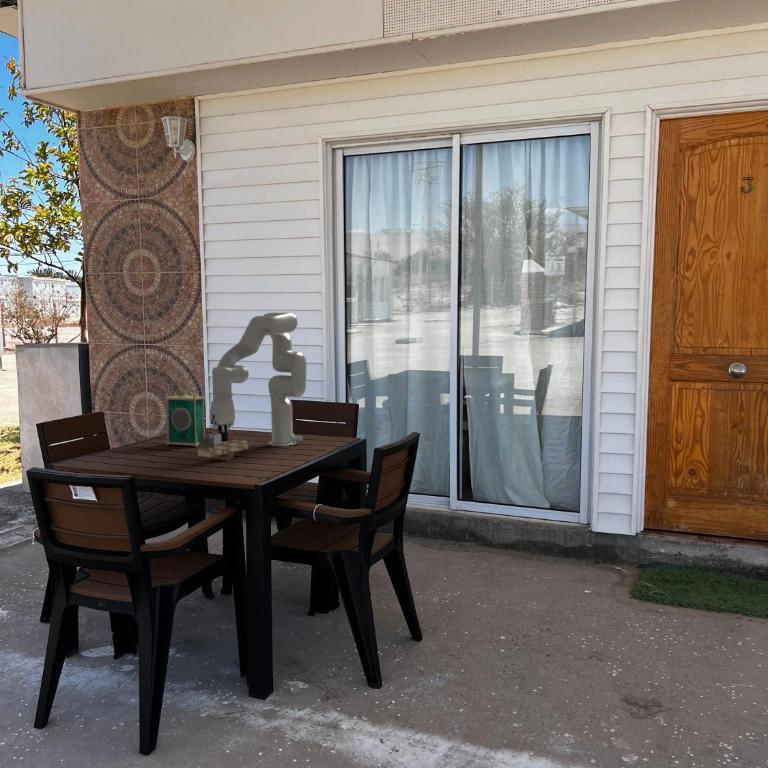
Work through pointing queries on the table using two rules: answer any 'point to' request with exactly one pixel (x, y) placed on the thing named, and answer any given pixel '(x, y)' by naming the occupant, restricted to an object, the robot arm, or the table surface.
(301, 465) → the table surface
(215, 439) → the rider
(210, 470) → the table surface
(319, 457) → the table surface
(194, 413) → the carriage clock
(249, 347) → the robot arm
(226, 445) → the beam
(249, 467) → the table surface
